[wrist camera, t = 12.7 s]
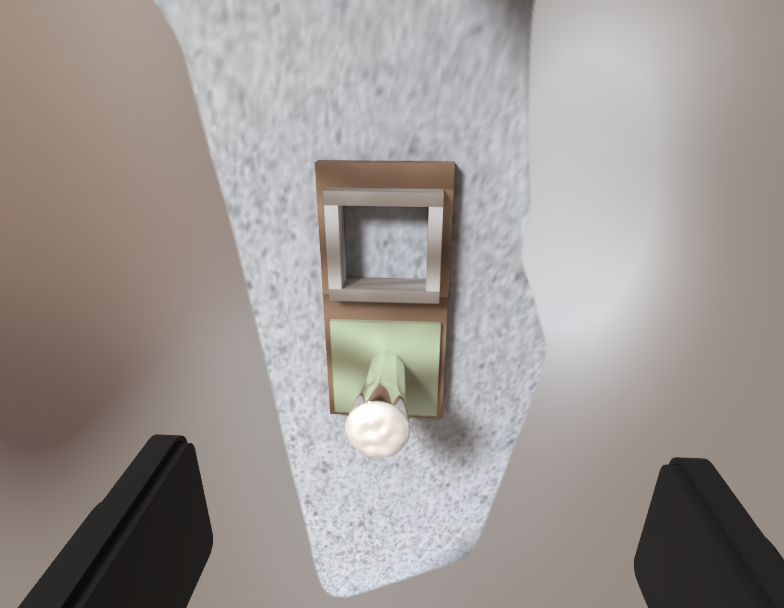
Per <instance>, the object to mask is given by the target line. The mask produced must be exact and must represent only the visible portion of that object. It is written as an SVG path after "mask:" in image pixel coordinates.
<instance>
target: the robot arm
mask: <svg viewBox="0 0 784 608" xmlns="http://www.w3.org/2000/svg"><path fill="white" fill-rule="evenodd" d="M212 545H213V533H212V528H211V524H210V519H209V514H208V509H207V504H206V500H205V495H204V490H203V485H202V480H201V475H200V471H199V466H198V461H197V456H196V451H195V447H194V445H193V444H192V443H187V440H186V438H185V437H184V436H180V435H179V436H178V435H157V434H156V435H153V436H152V437H151V438H150V439H149V440H148V441H147V443H146V444H145V446H144V447H143V448H142V450H141V451H140V452H139V453H138V455H137V456H136V457H135V459H134V460H133V461H132V463H131V464H130V465H129V467H128V468H127V469H126V471H125V472H124V473H123V475H122V476H121V477H120V479H119V480H118V481H117V483H116V484H115V485H114V486H113V488H112V489H111V490H110V492H109V493H108V494H107V496H106V497H105V498H104V500H103V501H102V502H101V503H99V504H98V505H97V506H96V507H95V508H94V509H93V510H92V511H91V512H90V514H89V515H88V516H87V518H86V519H85V520H84V522H83V523H82V524H81V526H80V527H79V528H78V529H77V531H76V532H75V533H74V535H73V536H72V537H71V539H70V540H69V541H68V543H67V544H66V545H65V546H64V548H63V549H62V550H61V552H60V553H59V554H58V556H57V557H56V558H55V560H54V561H53V562H52V563H51V565H50V566H49V567H48V569H47V570H46V572H45V573H44V574H43V575H42V577H41V578H40V579H39V581H38V582H37V583H36V584H35V586H34V587H33V588H32V590H31V591H30V592H29V594H28V595H27V596H26V598H25V599H24V600H23V601H22V603H21V604H20V605H19V607H18V608H186V607H187V605H188V603H189V600H190V598H191V596H192V594H193V591H194V589H195V587H196V585H197V582H198V580H199V578H200V576H201V573H202V571H203V569H204V567H205V565H206V563H207V560H208V558H209V556H210V553H211V550H212ZM634 571H635V576H636V579H637V582H638V584H639V587H640V589H641V591H642V594H643V596H644V599H645V601H646V604H647V606H648V608H784V559H783V558H782V557H781V555H780V554H779V552H778V551H777V549H776V548H775V547H774V546H773V545H772V543H771V542H770V541H769V540H768V539H767V538H765V536H764V535H763V533H762V532H761V531H760V529H759V528H758V527H757V526H756V524H755V523H754V521H753V520H752V518H751V517H750V515H749V514H748V513H747V511H746V510H745V509H744V507H743V506H742V504H741V503H740V502H739V500H738V499H737V498H736V496H735V495H734V493H733V492H732V491H731V489H730V488H729V486H728V485H727V484H726V482H725V481H724V480H723V478H722V477H721V475H720V474H719V473H718V471H717V470H716V469H715V467H714V466H713V465H712V463H711V462H710V461H709V460H707V459H701V458H678V457H677V458H673V459H672V460H671V461H670V463H669V465H663V466H662V467H661V469H660V472H659V476H658V479H657V483H656V486H655V489H654V493H653V496H652V500H651V503H650V507H649V510H648V514H647V517H646V521H645V524H644V527H643V531H642V534H641V538H640V541H639V544H638V548H637V551H636V555H635V558H634Z"/></svg>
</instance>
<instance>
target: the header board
mask: <svg viewBox="0 0 784 608" xmlns="http://www.w3.org/2000/svg"><path fill="white" fill-rule="evenodd" d="M315 172H316V188H317V205H318V221H319V237H320V253H321V269H322V286H323V302H324V318H325V334H326V350H327V367H328V383H329V399H330V414H349V412H350V410H351V407H352V405H353V402H354V400H355V397H356V394H357V391H358V388H359V386H360V383H361V380H362V377H363V374H364V371H365V368H366V366H367V364H368V362H369V361H370V360H371V358H372V357H373V356H374V355H377V354H380V353H383V352H386V353H390V354H394V355H397V356H398V358H399V359H400V360H401V361H402V362H403V363H404V369H405V386H406V400H407V406H408V415H409V417H426V418H442V408H443V388H444V369H445V349H446V330H447V310H448V290H449V271H450V251H451V232H452V212H453V193H454V173H455V163H454V162H441V161H347V160H318V161H317V162H315ZM344 206H403V207H429V211H428V243H427V276H426V279H398V278H357V277H346V255H345V230H344Z"/></svg>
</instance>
